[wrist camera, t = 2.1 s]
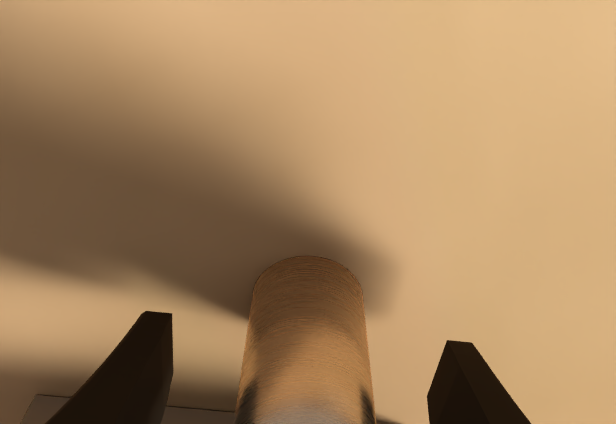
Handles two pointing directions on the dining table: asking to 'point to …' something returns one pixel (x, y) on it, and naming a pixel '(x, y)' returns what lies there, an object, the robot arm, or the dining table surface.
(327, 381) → the pin
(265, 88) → the dining table surface
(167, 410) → the pin block
